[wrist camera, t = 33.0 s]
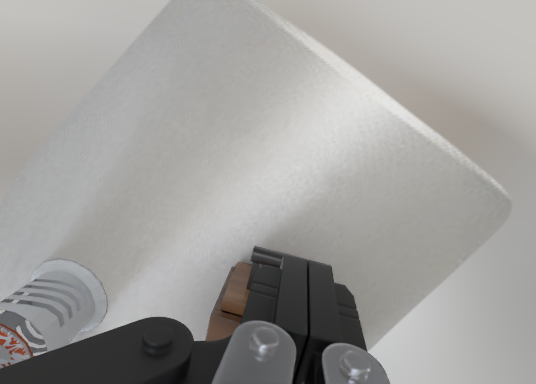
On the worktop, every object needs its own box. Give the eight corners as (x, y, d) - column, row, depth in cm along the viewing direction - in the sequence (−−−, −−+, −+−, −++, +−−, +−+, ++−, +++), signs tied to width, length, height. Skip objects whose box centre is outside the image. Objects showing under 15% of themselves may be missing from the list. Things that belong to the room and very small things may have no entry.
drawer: (246, 225, 34) (232, 254, 28) (327, 246, 34) (332, 281, 27) (219, 342, 38) (201, 392, 32) (291, 362, 38) (288, 417, 31)
